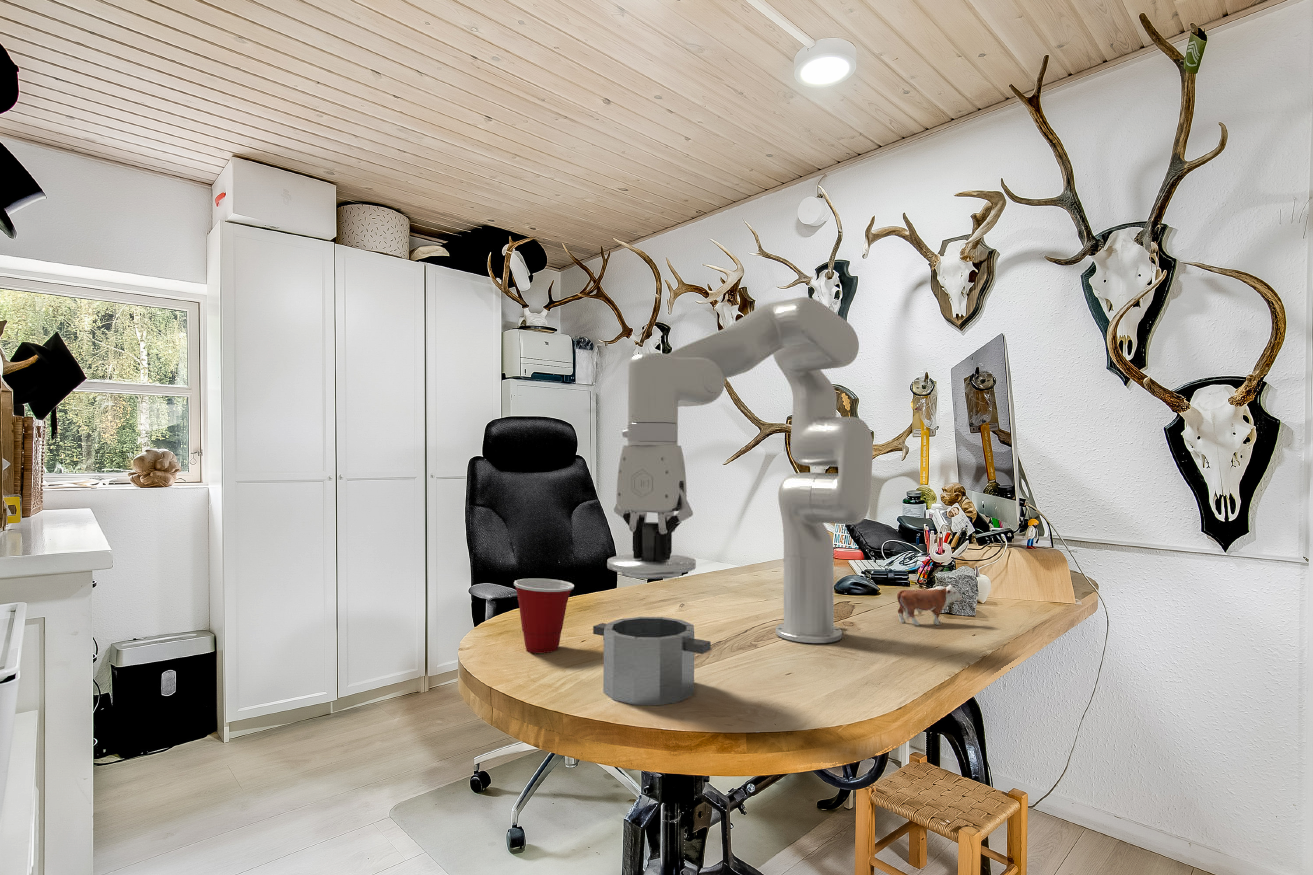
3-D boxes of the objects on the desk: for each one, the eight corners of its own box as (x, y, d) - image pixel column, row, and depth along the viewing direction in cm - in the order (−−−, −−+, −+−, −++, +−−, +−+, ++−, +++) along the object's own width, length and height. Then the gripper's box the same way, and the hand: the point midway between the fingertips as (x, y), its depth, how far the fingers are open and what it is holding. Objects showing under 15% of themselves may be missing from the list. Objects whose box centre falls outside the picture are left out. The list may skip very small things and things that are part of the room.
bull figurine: (964, 626, 135) (964, 586, 135) (900, 626, 135) (900, 586, 135) (954, 621, 139) (954, 582, 140) (892, 621, 139) (892, 582, 139)
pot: (621, 665, 107) (622, 610, 108) (727, 687, 97) (727, 626, 98) (570, 689, 96) (570, 627, 97) (683, 716, 86) (683, 648, 86)
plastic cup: (578, 654, 113) (579, 585, 114) (515, 659, 110) (515, 588, 111) (569, 638, 124) (569, 574, 124) (510, 642, 121) (511, 577, 121)
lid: (638, 563, 106) (638, 517, 107) (710, 571, 100) (711, 522, 100) (589, 575, 95) (589, 524, 95) (667, 585, 88) (667, 529, 89)
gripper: (594, 436, 99) (592, 557, 99) (688, 434, 91) (687, 567, 90) (622, 438, 106) (621, 551, 105) (713, 436, 97) (712, 560, 96)
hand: (651, 557), depth 97 cm, fingers closed on lid, 3 cm apart
